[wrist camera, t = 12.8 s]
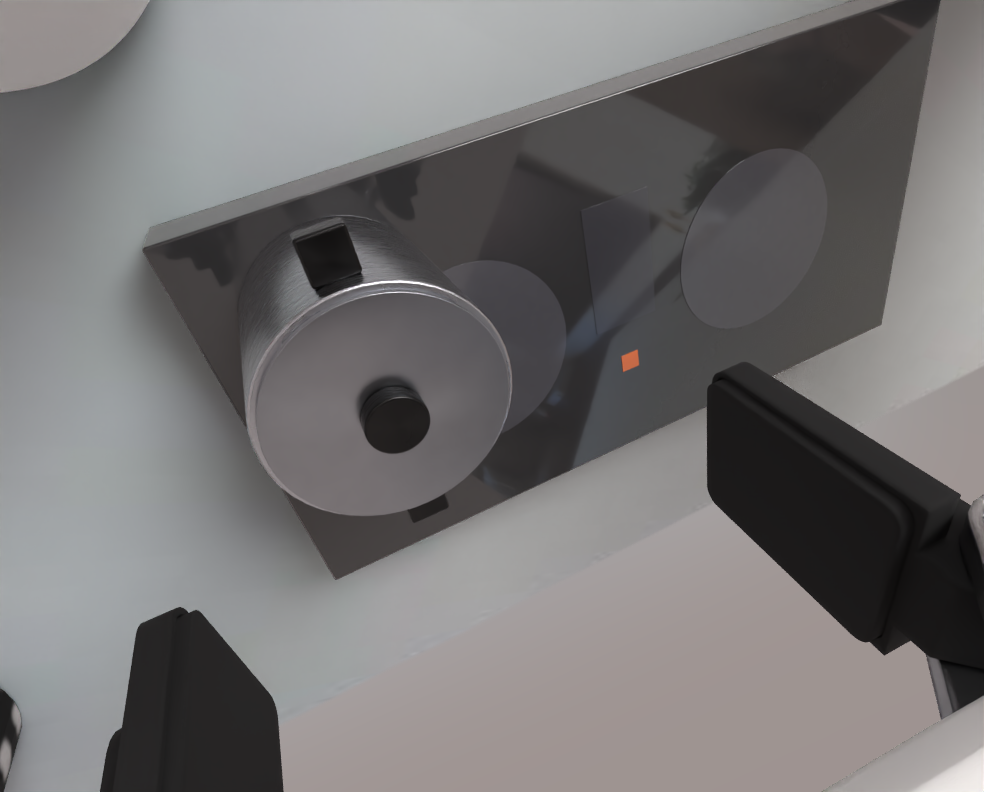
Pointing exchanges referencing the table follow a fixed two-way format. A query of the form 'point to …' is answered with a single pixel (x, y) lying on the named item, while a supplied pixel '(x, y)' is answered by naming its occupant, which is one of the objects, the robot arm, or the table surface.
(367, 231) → the pot
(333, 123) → the table surface
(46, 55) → the coffeepot
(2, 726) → the white-spotted black cylinder
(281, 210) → the hot plate
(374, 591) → the table surface
